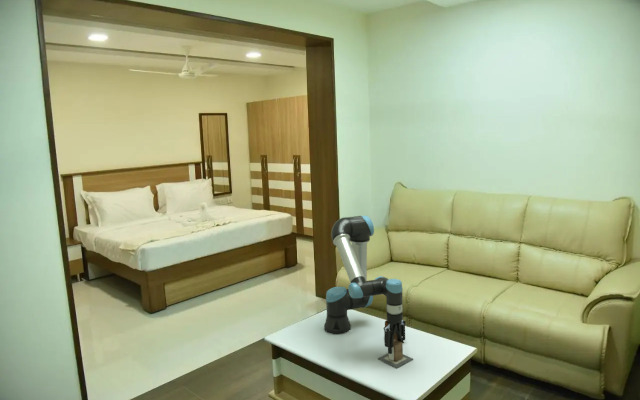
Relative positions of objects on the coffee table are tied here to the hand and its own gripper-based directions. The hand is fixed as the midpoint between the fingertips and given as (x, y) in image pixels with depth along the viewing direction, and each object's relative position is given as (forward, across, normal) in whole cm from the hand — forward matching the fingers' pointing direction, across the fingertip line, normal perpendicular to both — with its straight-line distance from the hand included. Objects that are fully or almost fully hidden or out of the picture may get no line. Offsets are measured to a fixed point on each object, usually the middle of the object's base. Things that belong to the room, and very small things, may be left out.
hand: (395, 357), depth 215 cm
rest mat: (+1, 0, 0) cm, 1 cm away
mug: (+1, +16, +14) cm, 21 cm away
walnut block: (0, 0, 0) cm, 0 cm away
